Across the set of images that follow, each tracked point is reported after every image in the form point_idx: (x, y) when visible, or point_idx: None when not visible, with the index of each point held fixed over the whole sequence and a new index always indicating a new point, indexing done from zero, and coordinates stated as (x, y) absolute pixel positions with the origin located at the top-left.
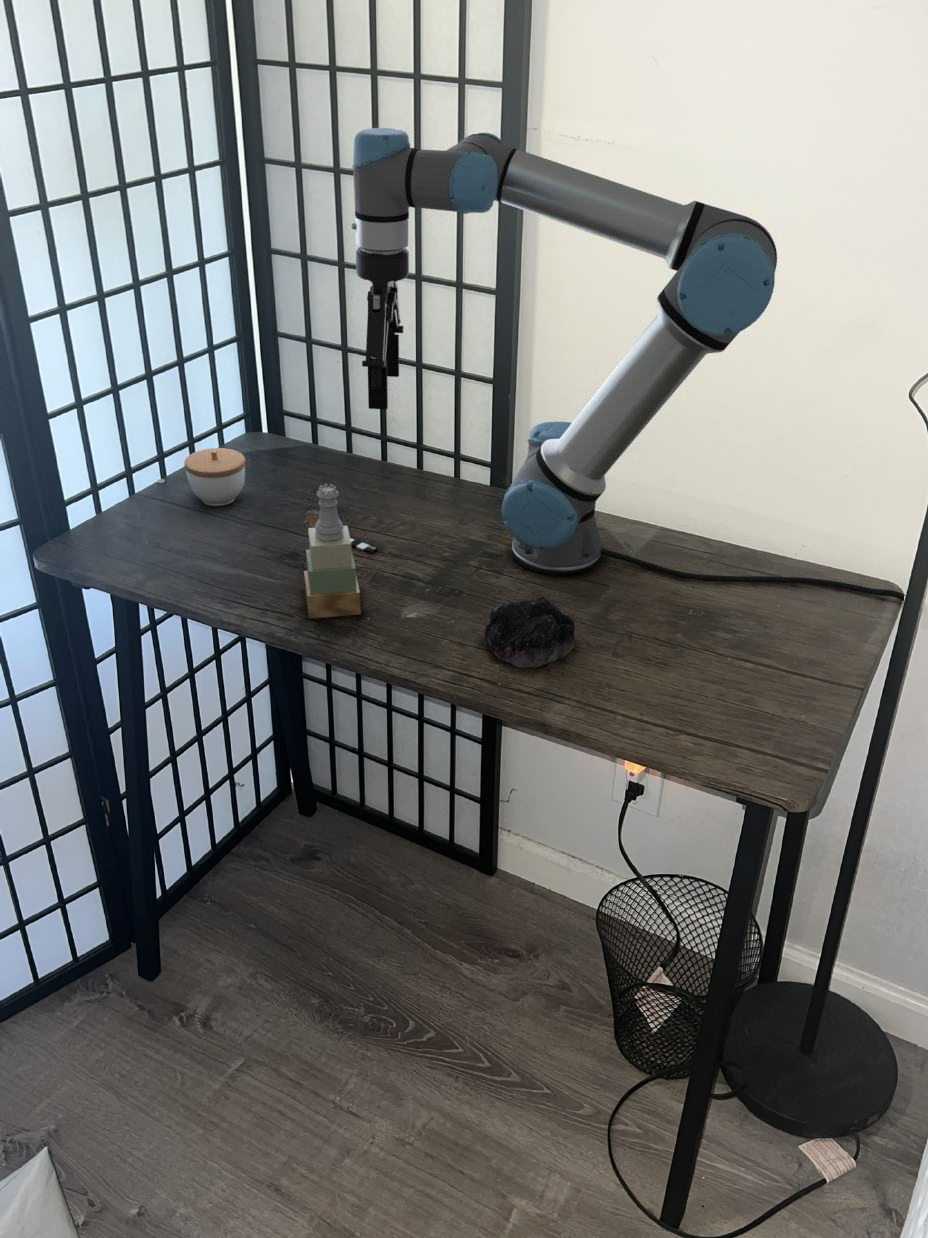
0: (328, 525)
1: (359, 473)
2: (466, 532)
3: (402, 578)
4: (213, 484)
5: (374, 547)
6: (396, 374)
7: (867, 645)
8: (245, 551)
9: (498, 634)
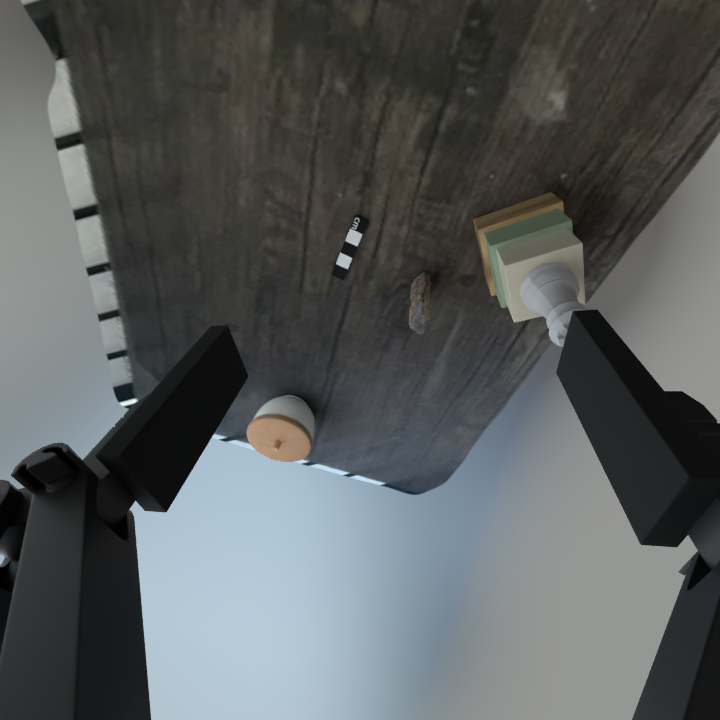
0: (577, 296)
1: (161, 289)
2: (252, 63)
3: (435, 150)
4: (311, 426)
5: (354, 219)
6: (226, 336)
7: None
8: (395, 362)
9: None
